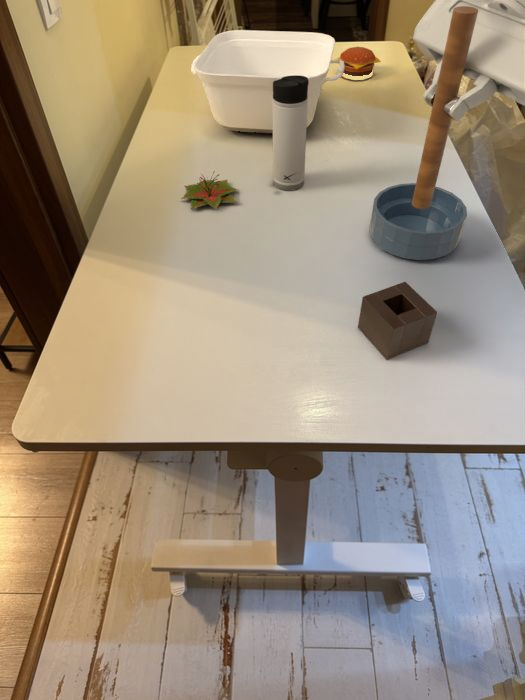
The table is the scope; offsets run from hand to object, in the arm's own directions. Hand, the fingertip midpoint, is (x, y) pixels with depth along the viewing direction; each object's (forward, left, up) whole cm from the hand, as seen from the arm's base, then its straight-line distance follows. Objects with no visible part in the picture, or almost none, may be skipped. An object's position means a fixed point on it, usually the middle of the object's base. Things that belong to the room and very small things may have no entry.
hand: (438, 109), depth 58 cm
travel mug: (+12, -37, -29) cm, 48 cm away
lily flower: (+28, -34, -29) cm, 52 cm away
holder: (+3, +7, -29) cm, 30 cm away
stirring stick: (-1, 0, -12) cm, 12 cm away
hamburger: (-14, -91, -29) cm, 96 cm away
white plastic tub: (+13, -67, -29) cm, 74 cm away
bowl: (-7, -16, -29) cm, 34 cm away
